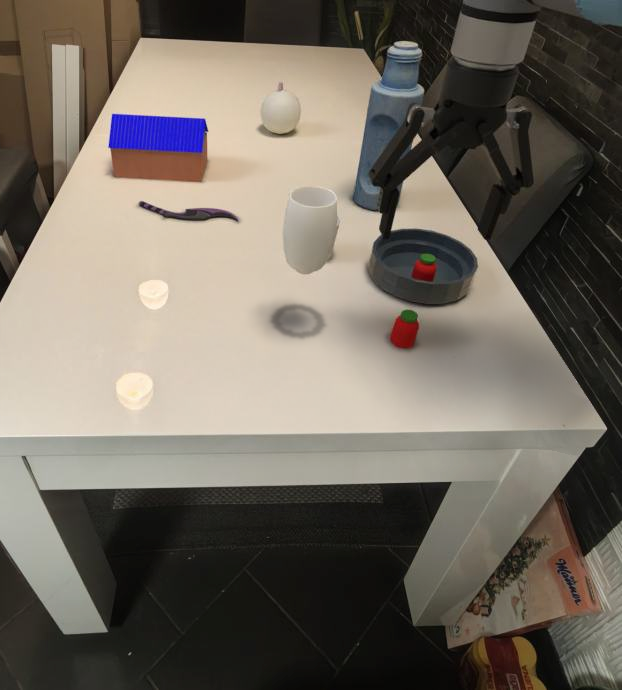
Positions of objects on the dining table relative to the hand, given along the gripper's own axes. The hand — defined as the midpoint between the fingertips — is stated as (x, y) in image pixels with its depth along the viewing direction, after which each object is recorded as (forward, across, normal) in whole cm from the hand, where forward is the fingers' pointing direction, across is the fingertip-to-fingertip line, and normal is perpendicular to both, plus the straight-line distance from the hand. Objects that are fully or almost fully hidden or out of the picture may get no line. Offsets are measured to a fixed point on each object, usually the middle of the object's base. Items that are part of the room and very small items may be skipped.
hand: (433, 234), depth 73 cm
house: (+16, +41, -57) cm, 72 cm away
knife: (+16, +35, -36) cm, 53 cm away
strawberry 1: (+16, +2, +3) cm, 17 cm away
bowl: (+16, -6, -14) cm, 22 cm away
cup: (+16, +16, -2) cm, 23 cm away
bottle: (+16, -4, -42) cm, 45 cm away
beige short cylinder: (+16, +11, -21) cm, 29 cm away
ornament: (+16, +12, -81) cm, 83 cm away
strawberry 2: (+16, -5, -11) cm, 20 cm away
